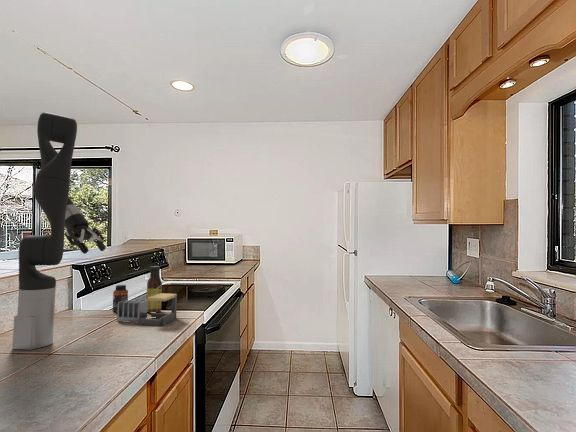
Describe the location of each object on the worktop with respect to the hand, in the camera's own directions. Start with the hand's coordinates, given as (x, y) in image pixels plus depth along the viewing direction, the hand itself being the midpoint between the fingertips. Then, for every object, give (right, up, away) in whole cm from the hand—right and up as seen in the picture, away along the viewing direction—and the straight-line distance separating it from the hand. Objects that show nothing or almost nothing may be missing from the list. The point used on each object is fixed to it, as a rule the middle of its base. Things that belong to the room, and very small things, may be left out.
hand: (95, 251), depth 134 cm
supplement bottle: (0, -28, +19) cm, 34 cm away
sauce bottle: (+15, -29, +18) cm, 37 cm away
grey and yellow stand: (+23, -28, +2) cm, 36 cm away
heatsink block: (+13, -28, +3) cm, 31 cm away
